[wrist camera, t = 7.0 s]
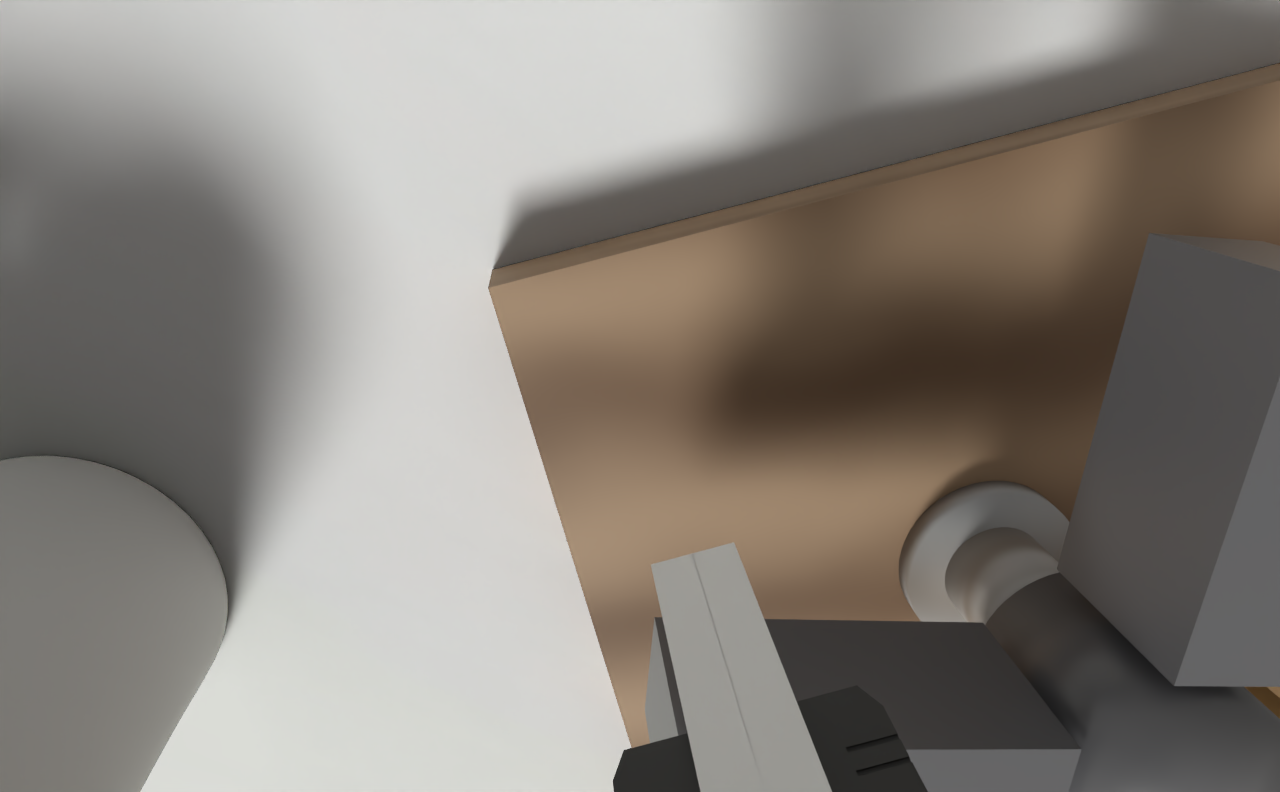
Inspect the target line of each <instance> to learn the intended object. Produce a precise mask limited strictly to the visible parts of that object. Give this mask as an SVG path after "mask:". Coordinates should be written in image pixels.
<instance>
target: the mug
mask: <svg viewBox="0 0 1280 792" xmlns="http://www.w3.org/2000/svg"><path fill="white" fill-rule="evenodd" d="M227 614H228V595H227V588H226V582H225V578H224V575H223V571H222V568H221V565H220V562H219V560H218V558H217V556H216V554H215V552H214V550H213V548H212V546H211V544H210V543H209V541H208V540H207V538H206V537H205V535H204V534H203V532H202V531H201V529H200V528H199V527H198V526H197V525H196V524H195V522H194V521H193V520H192V519H191V518H190V517H189V515H188V514H186V513H185V512H184V511H183V510H182V509H181V508H180V507H179V506H178V505H177V504H176V503H174V502H173V501H172V500H171V499H169V498H168V497H166V496H165V495H164V494H162V493H161V492H160V491H158V490H157V489H155V488H154V487H152V486H150V485H148V484H147V483H145V482H143V481H141V480H140V479H138V478H136V477H134V476H131V475H129V474H127V473H124V472H122V471H120V470H118V469H115V468H112V467H108V466H105V465H102V464H99V463H96V462H91V461H86V460H81V459H76V458H70V457H59V456H25V457H18V458H11V459H5V460H1V461H0V792H140V791H141V789H142V787H143V785H144V784H145V782H146V780H147V778H148V776H149V774H150V773H151V771H152V769H153V767H154V765H155V763H156V762H157V760H158V758H159V756H160V754H161V753H162V751H163V749H164V747H165V745H166V743H167V742H168V740H169V738H170V736H171V735H172V733H173V731H174V729H175V727H176V726H177V724H178V722H179V721H180V719H181V717H182V715H183V714H184V712H185V710H186V709H187V707H188V705H189V704H190V702H191V700H192V699H193V697H194V695H195V694H196V692H197V690H198V688H199V687H200V685H201V683H202V682H203V680H204V678H205V676H206V674H207V673H208V671H209V669H210V667H211V665H212V663H213V661H214V660H215V658H216V655H217V653H218V651H219V648H220V645H221V643H222V640H223V637H224V633H225V627H226V621H227Z"/></svg>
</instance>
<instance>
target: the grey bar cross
mask: <svg viewBox="0 0 1280 792" xmlns="http://www.w3.org/2000/svg"><path fill="white" fill-rule="evenodd" d="M1057 570H1058V571H1059V573H1055V574H1051V575H1048V576H1046V577H1043V578H1040V579H1038V580H1036V581H1034V582H1032V583H1030V584H1028V585H1026V586H1025V587H1023V588H1021V589H1020V590H1018V591H1017V592H1015V593H1014V594H1013V595H1012V596H1010V597H1009V598H1008V599H1007V600H1005V601H1004V602H1003V603H1002V604H1001V605H1000V606H999V607H998V608H997V609H996V611H995V612H994V613H993V614H992V616H991V617H990V618H989V620H988V621H987V623H986V624H984V623H983V622H923V621H861V620H799V619H764V620H765V622H766V625H767V627H768V630H769V633H770V635H771V638H772V640H773V643H774V645H775V648H776V650H777V653H778V655H779V658H780V661H781V663H782V666H783V668H784V671H785V673H786V676H787V678H788V681H789V683H790V686H791V689H792V691H793V694H794V696H795V699H796V701H800V700H804V699H808V698H812V697H815V696H819V695H823V694H826V693H830V692H834V691H838V690H841V689H845V688H849V687H852V686H856V685H857V686H858V687H860V688H861V689H862V690H864V691H865V692H866V693H867V694H869V695H870V696H871V697H873V698H874V699H875V700H876V701H878V702H879V703H880V704H882V705H883V706H884V708H885V710H886V712H887V714H888V716H889V718H890V720H891V722H892V724H893V726H894V728H895V730H896V732H897V733H898V737H899V739H901V741H902V743H903V745H904V747H905V749H906V751H907V753H908V755H909V757H910V760H911V762H913V764H914V766H915V768H916V770H917V772H918V774H919V776H920V778H921V780H922V782H923V783H924V785H925V787H926V789H927V791H928V792H1280V246H1279V245H1275V244H1271V243H1267V242H1263V241H1251V240H1237V239H1224V238H1210V237H1197V236H1183V235H1169V234H1156V233H1149V235H1148V239H1147V242H1146V246H1145V250H1144V253H1143V257H1142V261H1141V264H1140V268H1139V272H1138V275H1137V279H1136V282H1135V286H1134V290H1133V293H1132V297H1131V301H1130V304H1129V308H1128V312H1127V315H1126V319H1125V322H1124V326H1123V330H1122V333H1121V337H1120V341H1119V344H1118V348H1117V352H1116V355H1115V359H1114V362H1113V366H1112V370H1111V373H1110V377H1109V381H1108V384H1107V388H1106V392H1105V395H1104V399H1103V403H1102V406H1101V410H1100V413H1099V417H1098V421H1097V424H1096V428H1095V432H1094V435H1093V439H1092V443H1091V446H1090V450H1089V453H1088V457H1087V461H1086V464H1085V468H1084V472H1083V475H1082V479H1081V483H1080V486H1079V490H1078V493H1077V497H1076V501H1075V504H1074V508H1073V512H1072V515H1071V519H1070V523H1069V526H1068V530H1067V533H1066V537H1065V541H1064V544H1063V548H1062V552H1061V555H1060V559H1059V563H1058V566H1057ZM645 715H646V721H647V728H648V734H649V740H650V743H653V742H656V741H660V740H664V739H668V738H671V737H675V736H679V735H683V734H686V733H688V732H687V728H686V723H685V719H684V714H683V710H682V705H681V700H680V696H679V691H678V687H677V682H676V678H675V673H674V668H673V664H672V659H671V655H670V650H669V646H668V641H667V637H666V632H665V627H664V623H663V618H662V617H654V626H653V636H652V645H651V655H650V664H649V673H648V683H647V692H646V702H645Z"/></svg>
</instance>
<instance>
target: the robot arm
mask: <svg viewBox="0 0 1280 792" xmlns="http://www.w3.org/2000/svg"><path fill="white" fill-rule="evenodd" d="M651 568H652V573H653V577H654V582H655V586H656V591H657V595H658V600H659V605H660V609H661V614H662V618H663V623H664V627H665V632H666V637H667V641H668V646H669V650H670V655H671V659H672V664H673V668H674V673H675V678H676V682H677V687H678V691H679V696H680V700H681V705H682V710H683V714H684V719H685V723H686V728H687V732H688V733H686V734H683V735H679V736H675V737H671V738H668V739H664V740H660V741H656V742H653V743H649V744H645V745H642V746H638V747H634V748H630V749H627V750H624V751H623V754H622V757H621V760H620V763H619V765H618V768H617V771H616V774H615V777H614V779H613V786H614V792H928V791H927V789H926V787H925V785H924V783H923V782H922V780H921V778H920V776H919V774H918V772H917V770H916V768H915V766H914V764H913V762H911V760H910V757H909V755H908V753H907V751H906V749H905V747H904V745H903V743H902V741H901V739H899V737H898V733H897V732H896V730H895V728H894V726H893V724H892V722H891V720H890V718H889V716H888V714H887V712H886V710H885V708H884V706H883V705H882V704H880V703H879V702H878V701H876V700H875V699H874V698H873V697H871V696H870V695H869V694H867V693H866V692H865V691H864V690H862V689H861V688H860V687H858V686H857V685H856V686H852V687H849V688H845V689H841V690H838V691H834V692H830V693H826V694H823V695H819V696H815V697H812V698H808V699H804V700H800V701H796V699H795V696H794V694H793V691H792V689H791V686H790V683H789V681H788V678H787V676H786V673H785V671H784V668H783V666H782V663H781V661H780V658H779V655H778V653H777V650H776V648H775V645H774V643H773V640H772V638H771V635H770V633H769V630H768V627H767V625H766V622H765V620H764V617H763V615H762V612H761V610H760V607H759V605H758V602H757V599H756V597H755V594H754V592H753V589H752V587H751V584H750V582H749V579H748V577H747V574H746V571H745V569H744V566H743V564H742V561H741V559H740V556H739V554H738V551H737V549H736V546H735V543H734V542H733V543H729V544H726V545H722V546H718V547H715V548H711V549H707V550H703V551H700V552H696V553H692V554H688V555H685V556H681V557H677V558H673V559H670V560H666V561H662V562H658V563H655V564H651Z"/></svg>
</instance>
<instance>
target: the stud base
mask: <svg viewBox="0 0 1280 792" xmlns="http://www.w3.org/2000/svg"><path fill="white" fill-rule="evenodd" d="M1149 233H1156V234H1169V235H1183V236H1197V237H1210V238H1224V239H1237V240H1251V241H1263V242H1267V243H1271V244H1275V245H1279V246H1280V63H1278V64H1274V65H1271V66H1267V67H1263V68H1259V69H1255V70H1252V71H1248V72H1244V73H1240V74H1236V75H1232V76H1229V77H1225V78H1221V79H1217V80H1213V81H1210V82H1206V83H1202V84H1198V85H1194V86H1191V87H1187V88H1183V89H1179V90H1175V91H1172V92H1168V93H1164V94H1160V95H1156V96H1152V97H1149V98H1145V99H1141V100H1137V101H1133V102H1130V103H1126V104H1122V105H1118V106H1114V107H1111V108H1107V109H1103V110H1099V111H1095V112H1092V113H1088V114H1084V115H1080V116H1076V117H1072V118H1069V119H1065V120H1061V121H1057V122H1053V123H1050V124H1046V125H1042V126H1038V127H1034V128H1031V129H1027V130H1023V131H1019V132H1015V133H1012V134H1008V135H1004V136H1000V137H996V138H992V139H989V140H985V141H981V142H977V143H973V144H970V145H966V146H962V147H958V148H954V149H951V150H947V151H943V152H939V153H935V154H932V155H928V156H924V157H920V158H916V159H912V160H909V161H905V162H901V163H897V164H893V165H890V166H886V167H882V168H878V169H874V170H871V171H867V172H863V173H859V174H855V175H852V176H848V177H844V178H840V179H836V180H832V181H829V182H825V183H821V184H817V185H813V186H810V187H806V188H802V189H798V190H794V191H791V192H787V193H783V194H779V195H775V196H772V197H768V198H764V199H760V200H756V201H752V202H749V203H745V204H741V205H737V206H733V207H730V208H726V209H722V210H718V211H714V212H711V213H707V214H703V215H699V216H695V217H692V218H688V219H684V220H680V221H676V222H672V223H669V224H665V225H661V226H657V227H653V228H650V229H646V230H642V231H638V232H634V233H631V234H627V235H623V236H619V237H615V238H611V239H608V240H604V241H600V242H596V243H592V244H589V245H585V246H581V247H577V248H573V249H570V250H566V251H562V252H558V253H554V254H551V255H547V256H543V257H539V258H535V259H531V260H528V261H524V262H520V263H516V264H512V265H509V266H505V267H501V268H497V269H493V270H492V274H491V279H490V283H489V287H488V289H489V292H490V295H491V298H492V302H493V305H494V308H495V311H496V314H497V318H498V321H499V324H500V327H501V330H502V334H503V337H504V340H505V343H506V346H507V350H508V353H509V356H510V359H511V362H512V366H513V369H514V372H515V375H516V378H517V382H518V385H519V388H520V391H521V394H522V398H523V401H524V404H525V407H526V411H527V414H528V417H529V420H530V423H531V427H532V430H533V433H534V436H535V439H536V443H537V446H538V449H539V452H540V455H541V459H542V462H543V465H544V468H545V471H546V475H547V478H548V481H549V484H550V487H551V491H552V494H553V497H554V500H555V503H556V507H557V510H558V513H559V516H560V519H561V523H562V526H563V529H564V532H565V535H566V539H567V542H568V545H569V548H570V551H571V555H572V558H573V561H574V564H575V568H576V571H577V574H578V577H579V580H580V584H581V587H582V590H583V593H584V596H585V600H586V603H587V606H588V609H589V612H590V616H591V619H592V622H593V625H594V628H595V632H596V635H597V638H598V641H599V644H600V648H601V651H602V654H603V657H604V660H605V664H606V667H607V670H608V673H609V676H610V680H611V683H612V686H613V689H614V692H615V696H616V699H617V702H618V705H619V708H620V712H621V715H622V718H623V721H624V725H625V728H626V731H627V734H628V737H629V741H630V744H631V747H632V748H634V747H638V746H642V745H645V744H649V743H650V740H649V734H648V728H647V721H646V715H645V702H646V692H647V683H648V673H649V664H650V655H651V645H652V636H653V626H654V617H662V614H661V609H660V605H659V600H658V595H657V591H656V586H655V582H654V577H653V573H652V568H651V564H655V563H658V562H662V561H666V560H670V559H673V558H677V557H681V556H685V555H688V554H692V553H696V552H700V551H703V550H707V549H711V548H715V547H718V546H722V545H726V544H729V543H733V542H734V543H735V546H736V549H737V551H738V554H739V556H740V559H741V561H742V564H743V566H744V569H745V571H746V574H747V577H748V579H749V582H750V584H751V587H752V589H753V592H754V594H755V597H756V599H757V602H758V605H759V607H760V610H761V612H762V615H763V617H764V619H799V620H861V621H923V622H983V623H984V624H986V623H987V621H988V620H989V618H990V617H991V616H992V614H993V613H994V612H995V611H996V609H997V608H998V607H999V606H1000V605H1001V604H1002V603H1003V602H1004V601H1005V600H1007V599H1008V598H1009V597H1010V596H1012V595H1013V594H1014V593H1015V592H1017V591H1018V590H1020V589H1021V588H1023V587H1025V586H1026V585H1028V584H1030V583H1032V582H1034V581H1036V580H1038V579H1040V578H1043V577H1046V576H1048V575H1051V574H1055V573H1059V571H1058V570H1057V566H1058V563H1059V559H1060V555H1061V552H1062V548H1063V544H1064V541H1065V537H1066V533H1067V530H1068V526H1069V523H1070V519H1071V515H1072V512H1073V508H1074V504H1075V501H1076V497H1077V493H1078V490H1079V486H1080V483H1081V479H1082V475H1083V472H1084V468H1085V464H1086V461H1087V457H1088V453H1089V450H1090V446H1091V443H1092V439H1093V435H1094V432H1095V428H1096V424H1097V421H1098V417H1099V413H1100V410H1101V406H1102V403H1103V399H1104V395H1105V392H1106V388H1107V384H1108V381H1109V377H1110V373H1111V370H1112V366H1113V362H1114V359H1115V355H1116V352H1117V348H1118V344H1119V341H1120V337H1121V333H1122V330H1123V326H1124V322H1125V319H1126V315H1127V312H1128V308H1129V304H1130V301H1131V297H1132V293H1133V290H1134V286H1135V282H1136V279H1137V275H1138V272H1139V268H1140V264H1141V261H1142V257H1143V253H1144V250H1145V246H1146V242H1147V239H1148V235H1149Z"/></svg>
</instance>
